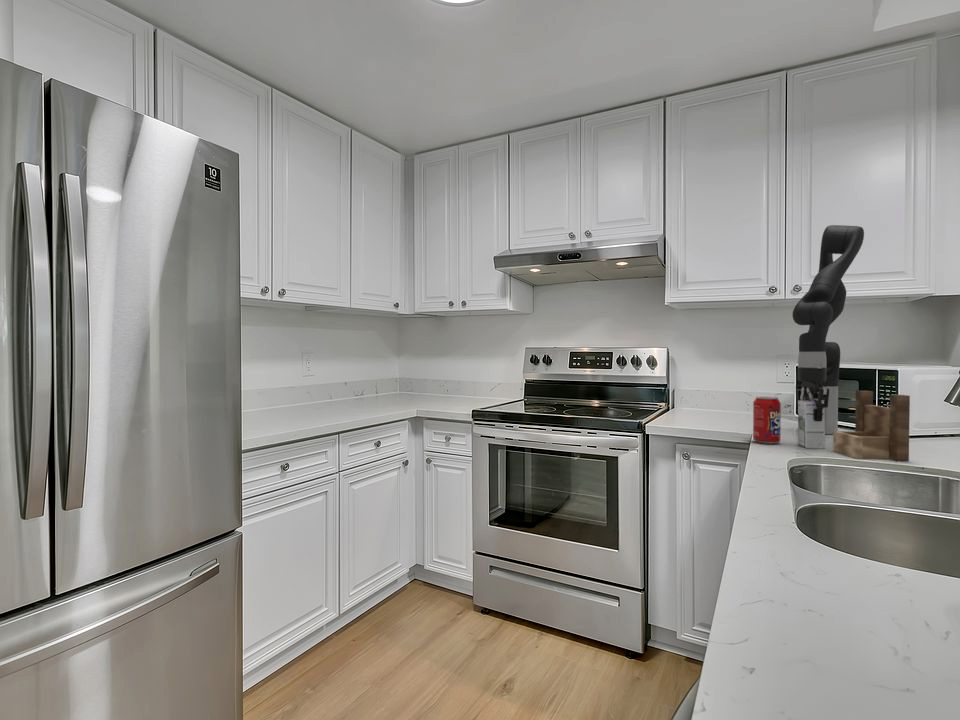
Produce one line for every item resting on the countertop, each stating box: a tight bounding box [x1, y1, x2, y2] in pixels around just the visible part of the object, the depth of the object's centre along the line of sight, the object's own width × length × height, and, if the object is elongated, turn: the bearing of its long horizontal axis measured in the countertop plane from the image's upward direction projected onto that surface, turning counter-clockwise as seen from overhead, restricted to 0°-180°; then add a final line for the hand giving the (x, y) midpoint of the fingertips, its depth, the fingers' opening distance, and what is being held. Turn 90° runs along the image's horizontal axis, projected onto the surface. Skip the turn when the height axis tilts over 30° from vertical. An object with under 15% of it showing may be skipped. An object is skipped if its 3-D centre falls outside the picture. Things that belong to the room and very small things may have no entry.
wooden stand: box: [832, 390, 911, 462], centre depth 148 cm, size 17×12×18 cm
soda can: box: [752, 396, 782, 445], centre depth 168 cm, size 8×8×15 cm
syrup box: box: [797, 399, 826, 450], centre depth 160 cm, size 6×6×14 cm
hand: (811, 419), depth 160 cm, fingers closed on syrup box, 6 cm apart
